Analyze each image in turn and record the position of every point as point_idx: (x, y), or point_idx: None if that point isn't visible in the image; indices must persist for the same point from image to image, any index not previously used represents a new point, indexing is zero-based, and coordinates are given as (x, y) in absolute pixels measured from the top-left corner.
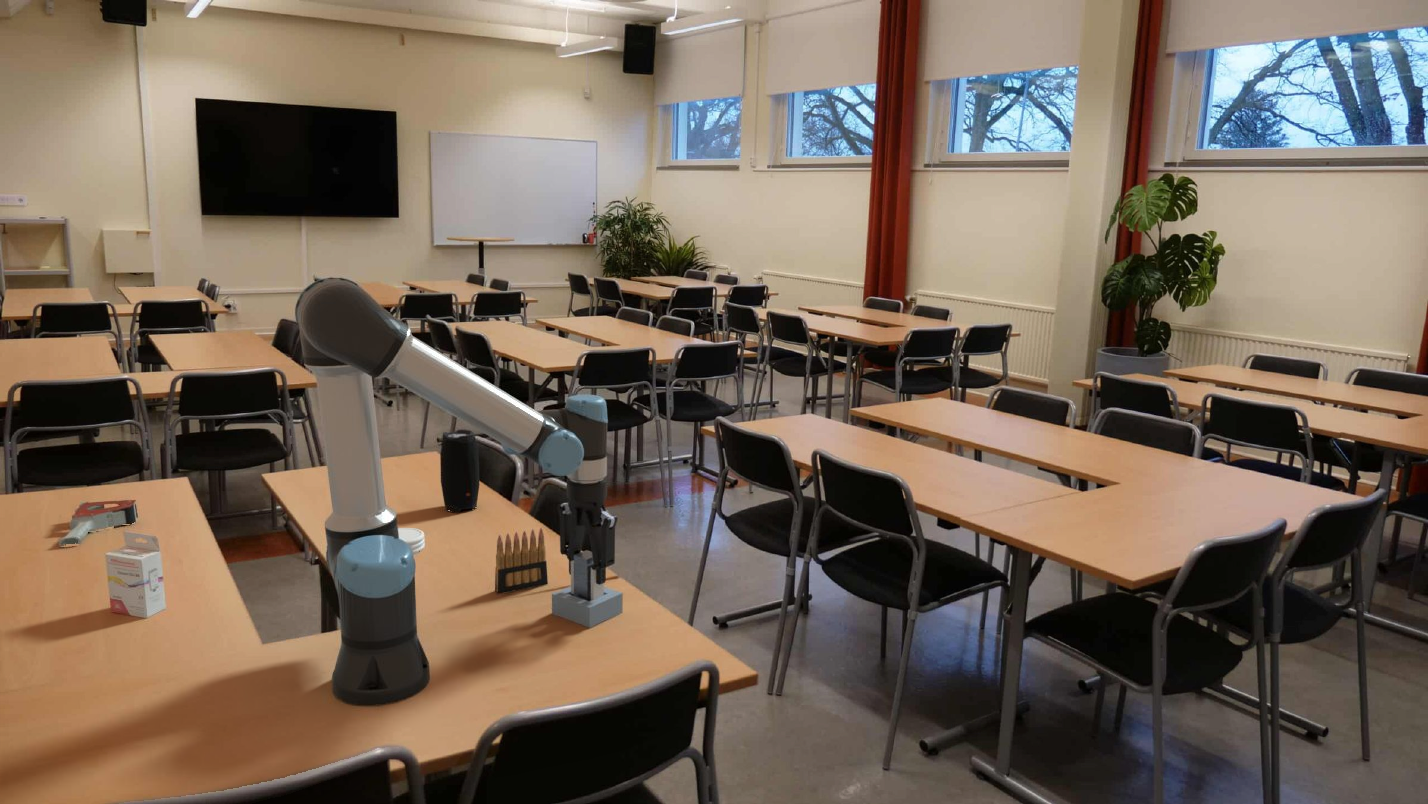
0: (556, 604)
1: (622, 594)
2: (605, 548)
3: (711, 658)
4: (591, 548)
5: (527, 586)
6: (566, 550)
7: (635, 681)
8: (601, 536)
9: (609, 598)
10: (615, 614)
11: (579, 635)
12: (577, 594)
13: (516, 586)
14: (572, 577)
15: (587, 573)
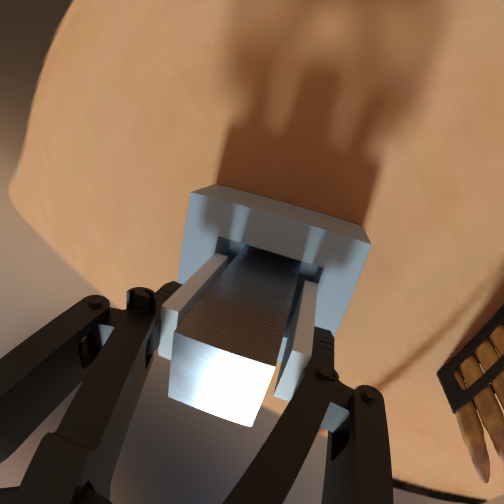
0: (346, 228)
1: None
2: (29, 339)
3: (10, 185)
4: (126, 375)
5: (474, 339)
6: (348, 406)
7: (51, 50)
8: (7, 391)
9: (179, 279)
10: None
11: (214, 130)
12: (281, 268)
13: (496, 322)
14: (305, 310)
15: (204, 296)
